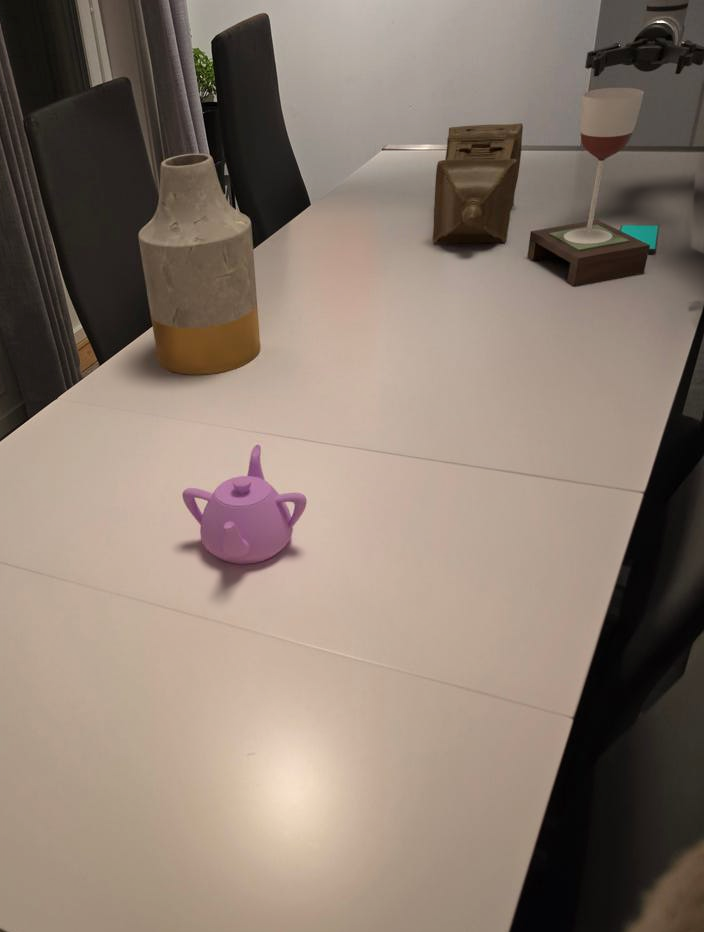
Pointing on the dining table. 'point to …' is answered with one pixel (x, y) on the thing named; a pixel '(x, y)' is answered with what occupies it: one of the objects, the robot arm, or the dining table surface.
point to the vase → (199, 272)
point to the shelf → (591, 253)
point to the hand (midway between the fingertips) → (637, 66)
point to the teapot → (245, 516)
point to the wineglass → (605, 140)
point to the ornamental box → (477, 183)
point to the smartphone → (643, 234)
